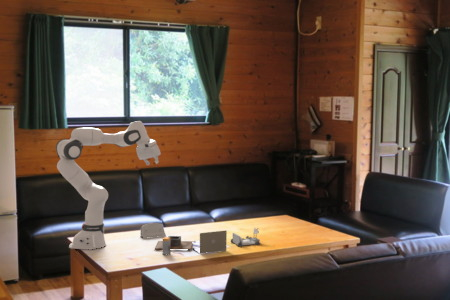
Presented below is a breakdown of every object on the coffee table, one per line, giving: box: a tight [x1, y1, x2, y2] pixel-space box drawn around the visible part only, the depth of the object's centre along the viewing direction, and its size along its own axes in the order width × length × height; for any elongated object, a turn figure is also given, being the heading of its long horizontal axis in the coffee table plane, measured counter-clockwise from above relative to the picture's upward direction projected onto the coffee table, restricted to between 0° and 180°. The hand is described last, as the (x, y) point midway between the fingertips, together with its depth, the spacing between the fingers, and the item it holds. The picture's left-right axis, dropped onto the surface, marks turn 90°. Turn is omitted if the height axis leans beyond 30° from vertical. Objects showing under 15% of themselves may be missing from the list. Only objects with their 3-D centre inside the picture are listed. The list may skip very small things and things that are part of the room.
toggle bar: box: [162, 236, 171, 256], centre depth 364 cm, size 4×4×10 cm
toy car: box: [230, 227, 261, 248], centre depth 392 cm, size 18×10×12 cm
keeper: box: [154, 235, 194, 251], centre depth 381 cm, size 22×18×6 cm
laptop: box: [199, 230, 228, 254], centre depth 375 cm, size 18×12×13 cm
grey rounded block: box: [140, 222, 167, 239], centre depth 409 cm, size 17×5×10 cm, turn 119°
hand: (152, 163), depth 395 cm, fingers open, 8 cm apart
